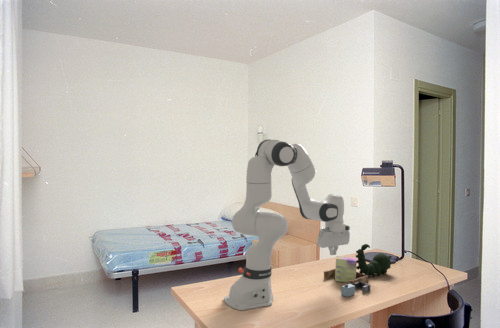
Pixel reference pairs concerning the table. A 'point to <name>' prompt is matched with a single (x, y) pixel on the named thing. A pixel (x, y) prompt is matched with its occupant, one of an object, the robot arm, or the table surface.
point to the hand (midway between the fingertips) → (332, 254)
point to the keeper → (362, 286)
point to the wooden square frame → (359, 277)
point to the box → (345, 269)
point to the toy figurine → (372, 263)
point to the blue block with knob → (348, 290)
